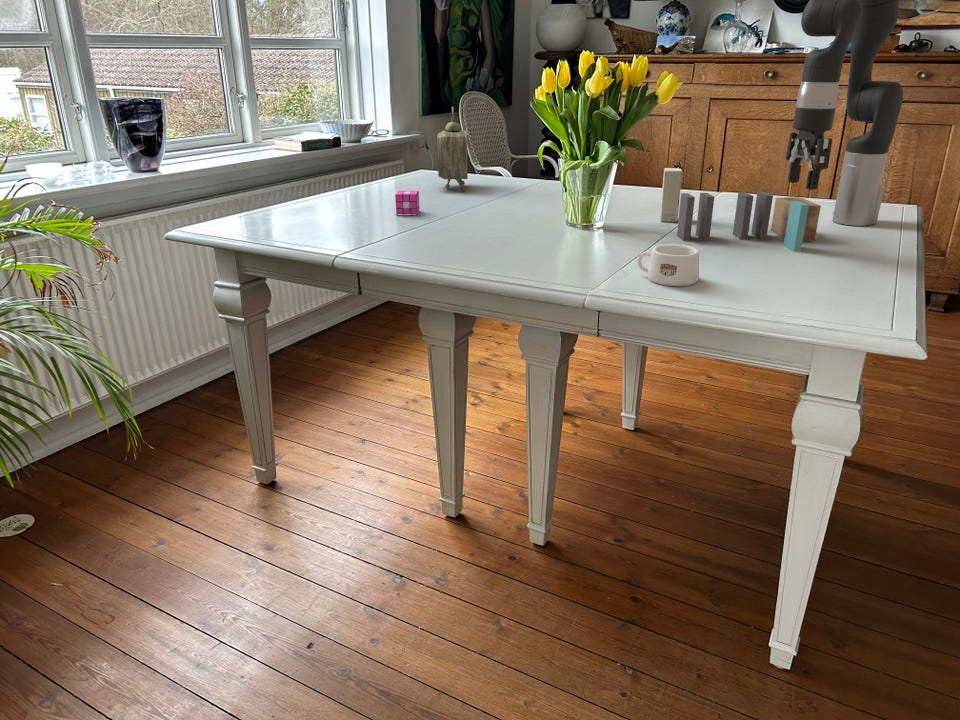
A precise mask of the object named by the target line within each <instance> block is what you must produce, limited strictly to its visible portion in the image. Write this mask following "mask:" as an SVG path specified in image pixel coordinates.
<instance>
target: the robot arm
mask: <svg viewBox="0 0 960 720" xmlns="http://www.w3.org/2000/svg"><path fill="white" fill-rule="evenodd" d="M899 6H900V0H809V1H808V2H807V4H806V6H805V7H804V9H803V12H802V14H801V21H800V24H801V29H802V31H803V32H804V34H805V35H806V36H809V37H816V38H817V37H818V38H819V37H834V39H833V41H832V42H831V43H830V45H828V46H827V47H824V48H819V49H815V50H812V51H811V50H810V51H809V52H808V53H807V54H806V56H805V60H804V64H803V69H802V76H801V82H800V86H799V90H798V93H797V99H796V104H795V111H794V114H793V115H794V116H793V123H792V128H793V129H794V130H796V131H792V132H790V133H789V138H788V144H787V148H786V154H785V160H786V161H788V165H790V166H789V170H788V171H789V172H788V176H787V182H788V183H790V184H795V183H797V184H798V183H799V181H800V176H801V172H802V167H803V165H802V164H803V162H804V160H805V162H807V165H808V166H807V167H808V170H807V171H808V172H807V177H806V183H805V189H806V190H809V191H811V190H812V191H813V190H817V189H818V186H819V183H820V176H821V172H822V171H824V170H827V169H828V168H829V163H830V157H831V151H832V147H833V146H832V145H833V139H832V137H831V138H829V137H827V138H825V132H828V131H831V130H832V128H833V125H834V124H833V123H834V119H835V114H836V108H837V102H838V97H839V87H840V86H839V84H840V78H841V73H842V68H843V63H844V60H845V56H846V53H847V50H848V49H849V46H851V47H850V49H851V50H850V63H849V65H850V66H849V74H848V75H849V76H848V84H847V90H846V91H847V92H846V94H847V95H846V113H847V116H848V118H849V119H850V120H851V121H853V122H854V121H855V122H861V123H863V122H864V123H872V125H871V128H870V130H869V131H867V132H865V133H864V134H862V135H858V136H854V137H852V138H849V139H848V140H847V142H846V145H845V152H844V157H843V162H842V168H841V171H840V172H841V173H840V178H839V179H840V180H839V183H838V189H837V195H836V199H835V204H834V211H833V213H832V221H833V222H834V223H837V224H840V225H846V226H856V227H857V226H860V227H863V226H871V225H877V223H878V218H879V215H880V214H879V213H880V209H881V204H882V200H883V197H884V196H883V195H884V191H885V185H884V184H882V182H883V178H884V172H885V169H886V162H887V158H888V154H889V150H890V146H891V144H892V140H893V139H894V135H895V131H896V127H897V123H898V119H899V117H900V112H901V108H902V105H903V98H904V89H903V86H902V85H901V83H900V82H898V81H891V80H890V81H889V80H887V81H885V80H873V78H872V77H873V76H872V75H873V74H872V73H873V66H874V61H875V59H876V56H877V55H878V52H879V51H881V48H882V47H883V45H884V44H885V42H886V40H887V39H888V38H889V36H890V35H891V33H892V32H893V30H894V28H895V26H896V24H897V22H898V17H899ZM850 43H851V45H850ZM797 130H798V131H797Z"/></svg>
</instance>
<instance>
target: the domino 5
mask: <svg viewBox="0 0 960 720" xmlns="http://www.w3.org/2000/svg"><path fill="white" fill-rule="evenodd" d="M808 207H809V205H807V204H805V203H802V202H800V201H791V204H790V210H789V216H788V222H787V228H786V234H785V239H784V240H783V241H784V242H783V246H784V247H785V246H786V248H787V249H788V250H791V251H792V250H793V251H792V252H801V250H802V247H803V242H804V241H803V236H804V230H805V224H806V219H807V213H808Z"/></svg>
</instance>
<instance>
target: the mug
mask: <svg viewBox="0 0 960 720" xmlns="http://www.w3.org/2000/svg"><path fill="white" fill-rule="evenodd" d="M646 256H647V257H648V256H649V258H650V259H649V264H648V266H647V267H648V268H646V266H643V263H642V260H643V259H644V257H646ZM637 266H638V267H639V269H640V270H641V271H643V272H645V273H647V275H646V277H647V278H648V279H649V281H651V282H652V283H654V284H658V285H661V286H667V287H687V286H693V285H694V284H696V283H697V282H698V281H699V279H700V278H699V277H700V251H699V250H698V249H697V248H695V247H694V246H690V245H686V244H677V243H676V244H674V243H673V244H671V243H670V244H669V243H668V244H659V245H656V246H654V247H652V249H651V251H644V252H642V253H640V254H639V255H638V257H637Z"/></svg>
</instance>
